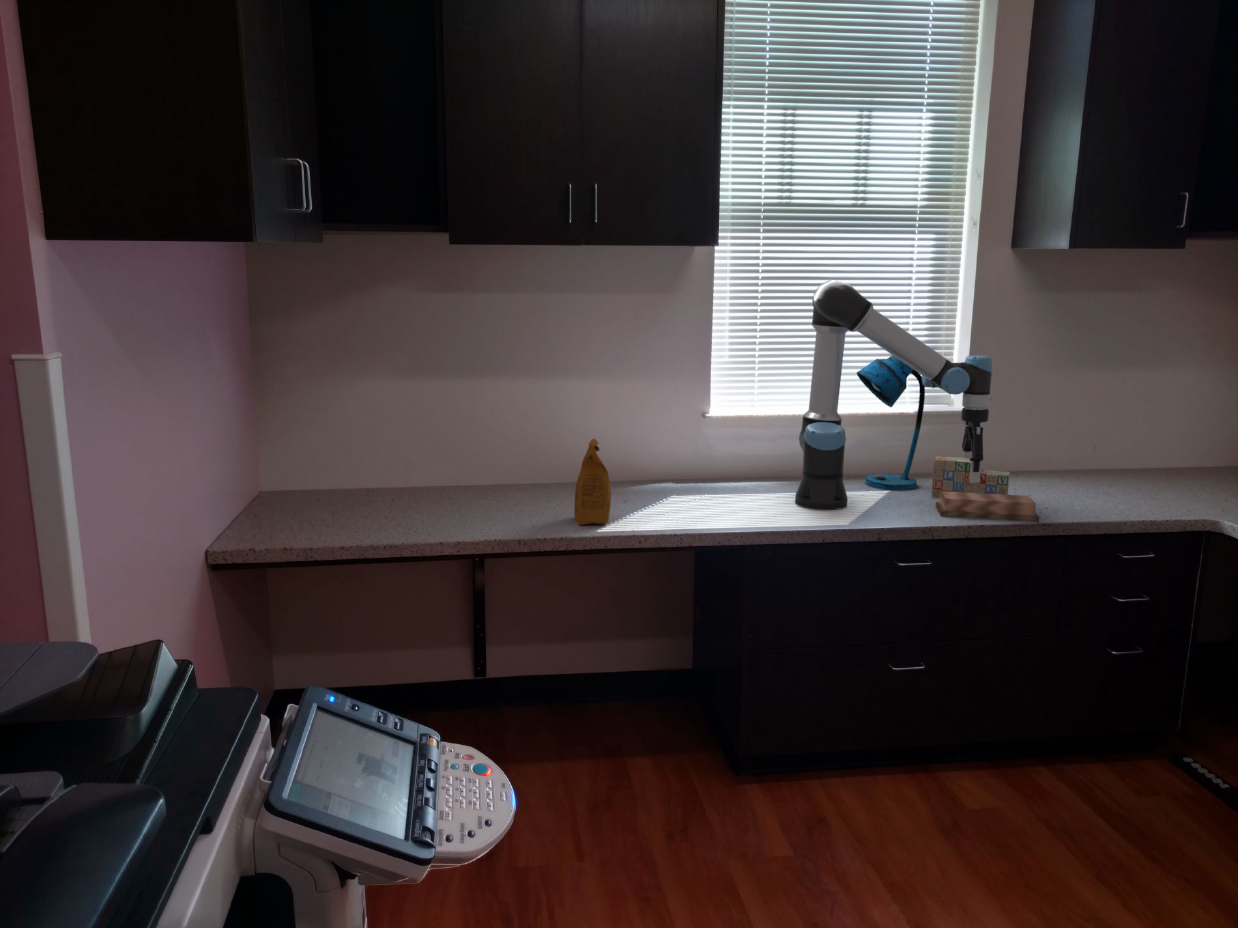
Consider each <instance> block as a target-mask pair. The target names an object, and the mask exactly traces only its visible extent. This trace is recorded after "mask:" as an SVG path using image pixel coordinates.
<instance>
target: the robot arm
mask: <svg viewBox="0 0 1238 928" xmlns="http://www.w3.org/2000/svg"><path fill="white" fill-rule="evenodd" d="M811 301H812V308H813V309H812V320H811V321H812V322H811V326H812V328H814V330H815V332H816V333H815V340H814V341H815V343H814V351H813V362H812V363H813V364H812V373H811V383H810V394H809V404H808V410H806V412H805V413H804V414H803V415H802V422H801V423H802V424H801V429H800V433H799V436H798V438H799V439H798V441H799V443H798V444H799V445H800V448H801V450H802V451H803V454H802V455H803V459H802V460H803V461H802V477H801V480H800V482H799V484H798V487H797V491H796V493H795V495H794V496H795V497H794V498H795V499H794V503H795V504H796V505H798V506H799V507H802V508H806V509H813V510H820V511H824V510H825V511H827V510H828V511H831V510H842V509H845V508H847V507H848V494H847V491H846V486H845V484H844V464H845V446H846V440H847V437H846V430H845V428H844V427H843V426H842V420H843V418H842V416H841V415H840V414H839V412H838V409H839V400H840V399H839V398H840V388H841V381H842V380H841V379H842V371H843V361H844V360H843V359H844V352H845V342H846V334H847V332H849V331H850V332H852V333H854V332H858V333H859V334H861V335H862V336H864V337H865V338H867V339H868V340H870V341H871V342H872V343H874V344H875V345H877V346H878V347H880V348H881V349H882V350H884V351H886V352H887V353H888V354H890V355H891V356H892V355H893V356H895V357H896V358H898V359H899V360H900V361H902V362H903V363H905V364H906V365H908V366H909V367H911V368H912V369H914V370H915V371H917V372H918V373H919V374H920V375H921V376H922V383H923V385H924V386H925V388H932V389H935V388H937V389H938V388H939V389H941V390H943V391H944V392H945V393H946V394H949V395H956V396H957V395H961V394H962V403H961V406H962V407H963V408H961V418H960V419H961V421H963V422H965V427H964V432H963V433H964V434H963V439H962V442H961V448H962V451H963V452H962V458H967V459H970V461H971V468H970V482H971V483H980V471H981V470H982V469H981V466H982V461H984V440H983V439H984V438H983V437H984V435H983V434H984V428H983V427H981V423H987V422H988V421H989V413H990V410H989V409H988V408H989V407H990V401H992V396H991V385H992V376H993V359H992V357H991V356H988V355H978V354H976V355H974V354H973V355H967V356H965V360H964V361H962V362H951V361H950V360H949V359H947V358H946V357H945V356H943V355H942V354H940V353H939V352H937V351H936V350H934V349H933V348H931V347H930V346H929V345H927V344H926V343H924V342H922V340H920V339H918V338H917V337H915V336H914V335H912V334H911V333H910V332H908V331H907V330H905V329H904V328H903V327H901V326H900V325H898V324H896V323H895V322H893V321H892V320H890V319H889V318H888V317H886V316H885V315H884V314H881V312H879V311H878V310H876V309H874V305H873V303H872V302H871V301H870V300H868V299H867V298H865V297H864V296H863V295H862V293H861V294H860V293H859V291H857V290H856V289H855V288H854V287H853V286H852V285H851V284H850V283H848V282H846V281H842V280H837V279H833V280H827V281H825V282H822V283H821V284H820V285H819V286H818V287H817V288H816V289H815V291H814V293H813V296H812V300H811Z"/></svg>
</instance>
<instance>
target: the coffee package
mask: <svg viewBox="0 0 1238 928" xmlns="http://www.w3.org/2000/svg"><path fill="white" fill-rule="evenodd" d="M598 445H599V441H597V439H596V438H595V437H594V438H592V439H591V440H590V441H589V442H588V448H587V451H586V453H585V454H584V457H583V460H582V463H581V466H580V471H579V473H578V478H577V480H576V485H575V490H574V491H575V492H574V505H573V506H574V509H573V510H574V511H573V512H574V519H575V521H576V523H577V525H579V526H584V525H585V526H586V525H595V524H597V525H601V524H608V523H609V519H610V513H611V503H612V491H611V490H612V489H611V483H610V474H609V471H608V470H607V468H606V466H605V465H604V463H603V462H602V459H601V458H600V456H599V455H598V454H597V452H599V451H600V449H601V448H600V447H599V446H598Z"/></svg>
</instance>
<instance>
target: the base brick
mask: <svg viewBox="0 0 1238 928" xmlns="http://www.w3.org/2000/svg"><path fill="white" fill-rule="evenodd" d="M1036 506H1037V503H1036V502H1035V501H1034V499H1032V498H1031V496H1029V495H1021V494H1020V495H1019V494H1008V495H1003V494H984V493H964V492H944V491H941V495H940V499H939V501H935V506H934V507H935V508H936V511H937V512H938V514H939V515H940V517H945V518H960V519H962V518H966V519H983V520H999V521H1000V520H1002V521H1017V522H1019V521H1020V522H1037V523H1039V521H1040V515H1039V514H1037V512H1036V508H1037V507H1036Z"/></svg>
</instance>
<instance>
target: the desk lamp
mask: <svg viewBox="0 0 1238 928" xmlns="http://www.w3.org/2000/svg"><path fill="white" fill-rule="evenodd" d="M910 374H912V376H913V377H915V379H916V380H917V381H918V386H919V394H918V395H919V396H918V397H919V399H918V407H917V414H916V420H915V428H914V431H913V435H912V440H911V443H910V447H909V448H910V449H909V452H908V456H907V459H906V463H905V467H904V471H903V473H902V475H900V474H891V473H890V474H889V473H877V474H875V473H874V474H869V475H866V477H865V481H864V484H865V485H866V486H868V487H871V488H874V489H879V490H886V491H909V490H913V489H916V488H917V482H918V481H917V480H916V479H915V478H913V477H910V476H909V474H910V470H911V467H912V464H913V460H914V455H915V453H916V450H917V446H918V445H917V444H918V440H919V436H920V431H921V425H922V420H923V414H924V409H925V399H926V387H925V386H924V385H923V383H922V375H921V374H920V373H918V372H917V371H915V370H914V369H912V368H911V367H909V366H908V365H906V364H905V363H903V362H902V361H900V360H899V359H898V358H896V357H895V356H893V355H892V354H891V355H890V356H889V357H887V358H876V359H874V360H873V361H871V362H870V363H868V364H867V365H865V366H864V367H863V368H861V369H860V370H858V371H857V372H856V375H857V377H858V379H859V380H860V381H861V382H862V384H863V385H864V386H865V387H866V388H867V389H868V390H869V392H870V393H872V394H873V395H874V396H875V397H876V398H877V399H878V400H879V401H880V402H882V403H883V404H884V405H886V406H887V407H889V408H893V406H894V405H895V404H896V403H897V402H898V399H900V397H901V396H902V394H904V392H905V391H906V390H907V386H908V385H907V384H908V383H907V381H908V380H907V379H908V377H909V375H910Z"/></svg>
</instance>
